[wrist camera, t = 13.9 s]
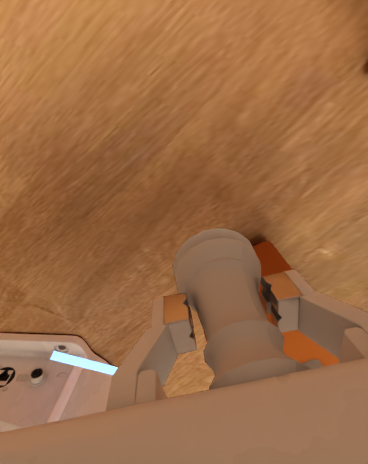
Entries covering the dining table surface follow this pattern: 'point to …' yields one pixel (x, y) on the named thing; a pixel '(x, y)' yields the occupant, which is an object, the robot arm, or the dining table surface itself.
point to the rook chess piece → (231, 308)
